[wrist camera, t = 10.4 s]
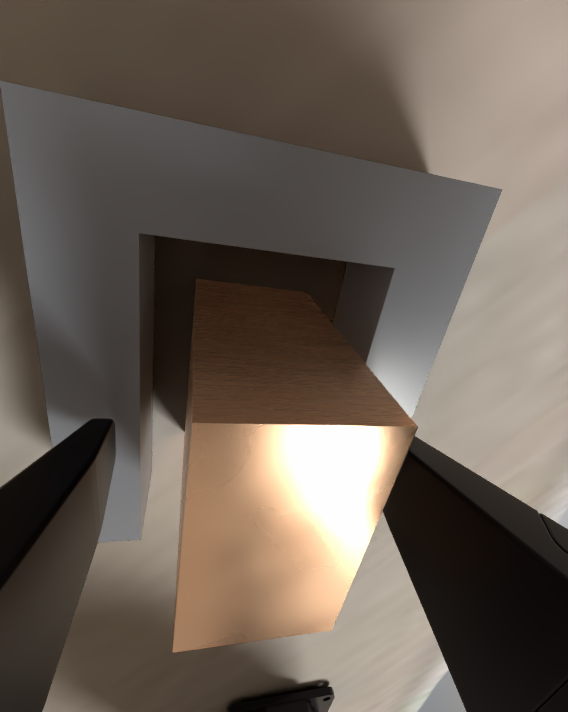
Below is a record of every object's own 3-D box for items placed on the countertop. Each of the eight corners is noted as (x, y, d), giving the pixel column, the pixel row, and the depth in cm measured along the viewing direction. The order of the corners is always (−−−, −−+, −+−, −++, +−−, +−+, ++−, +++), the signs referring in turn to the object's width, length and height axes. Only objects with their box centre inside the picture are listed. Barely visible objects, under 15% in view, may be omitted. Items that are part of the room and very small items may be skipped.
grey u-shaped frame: (342, 467, 14) (369, 524, 11) (91, 472, 11) (66, 544, 9) (432, 183, 9) (502, 189, 7) (60, 105, 7) (-1, 80, 5)
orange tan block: (275, 432, 12) (331, 630, 7) (184, 431, 11) (172, 652, 6) (306, 291, 10) (417, 426, 5) (196, 278, 9) (192, 422, 4)
